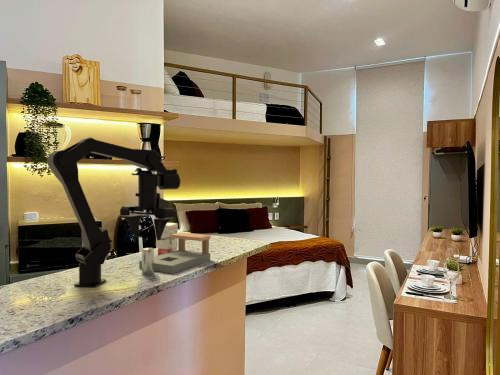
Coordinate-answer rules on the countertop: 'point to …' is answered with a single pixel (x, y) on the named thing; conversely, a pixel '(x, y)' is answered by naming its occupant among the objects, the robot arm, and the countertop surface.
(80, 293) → the countertop surface
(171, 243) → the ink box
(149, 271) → the peg
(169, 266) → the socket board
